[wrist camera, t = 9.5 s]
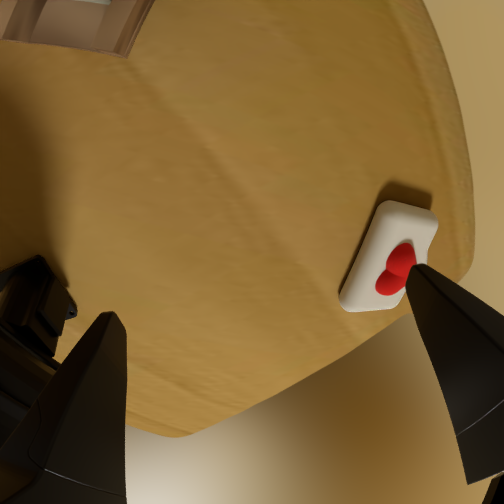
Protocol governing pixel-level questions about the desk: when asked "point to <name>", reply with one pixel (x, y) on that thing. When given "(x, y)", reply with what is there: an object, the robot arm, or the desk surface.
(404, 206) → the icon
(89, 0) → the clay bar
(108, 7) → the wooden channel cradle
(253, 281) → the desk surface
